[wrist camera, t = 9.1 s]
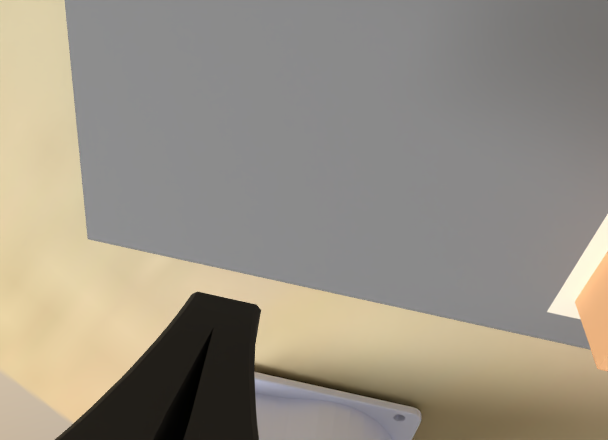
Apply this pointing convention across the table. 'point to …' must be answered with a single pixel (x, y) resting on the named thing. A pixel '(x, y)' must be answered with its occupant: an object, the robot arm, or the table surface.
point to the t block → (596, 313)
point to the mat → (356, 146)
